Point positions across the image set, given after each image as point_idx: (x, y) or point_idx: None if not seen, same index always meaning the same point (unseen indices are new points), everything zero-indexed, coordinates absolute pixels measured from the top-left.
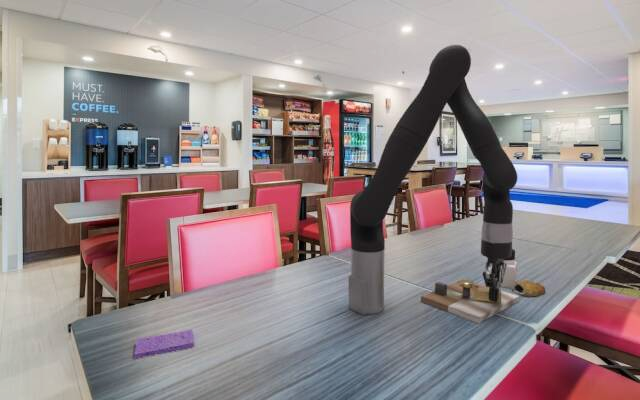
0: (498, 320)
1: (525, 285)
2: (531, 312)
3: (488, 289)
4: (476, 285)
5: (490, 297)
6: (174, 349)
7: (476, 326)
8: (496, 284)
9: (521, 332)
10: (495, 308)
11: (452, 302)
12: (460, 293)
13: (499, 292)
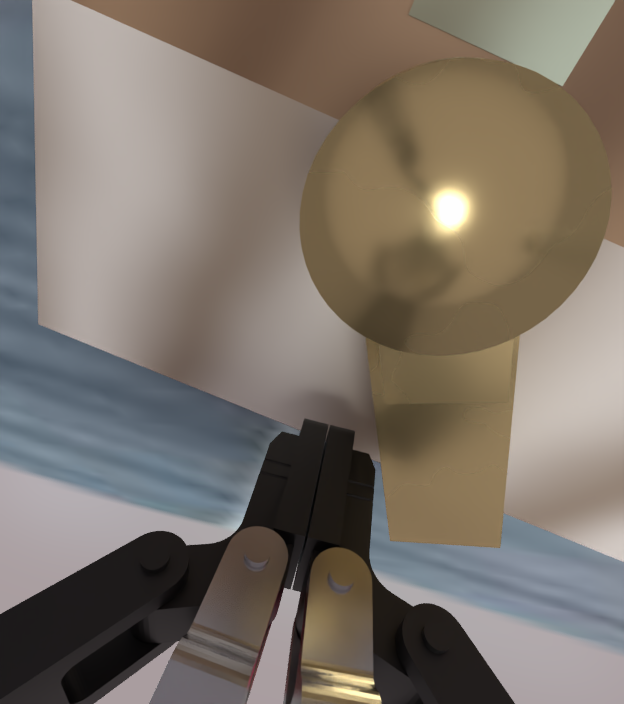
0: (203, 403)
1: None
2: (431, 551)
3: (468, 459)
4: (383, 382)
5: (268, 452)
6: None
7: (17, 289)
8: (161, 646)
9: (135, 482)
10: (280, 421)
11: (181, 10)
12: (600, 43)
13: (410, 531)
